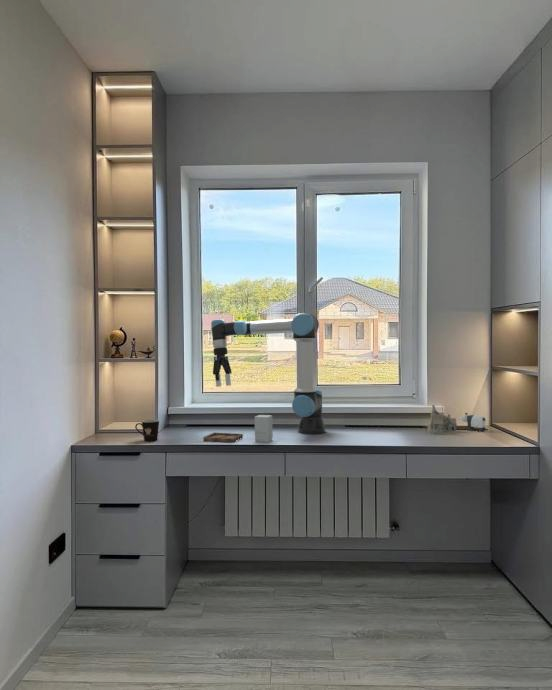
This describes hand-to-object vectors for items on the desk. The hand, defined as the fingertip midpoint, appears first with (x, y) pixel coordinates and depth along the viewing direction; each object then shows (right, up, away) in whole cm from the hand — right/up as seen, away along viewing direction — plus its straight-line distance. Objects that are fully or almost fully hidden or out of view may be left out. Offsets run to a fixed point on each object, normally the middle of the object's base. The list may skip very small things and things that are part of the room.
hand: (223, 386), depth 291 cm
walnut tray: (+2, -26, -20) cm, 33 cm away
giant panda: (+138, -25, +3) cm, 141 cm away
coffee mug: (-36, -26, -22) cm, 50 cm away
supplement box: (+23, -26, -24) cm, 42 cm away
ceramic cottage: (+119, -25, -3) cm, 122 cm away
